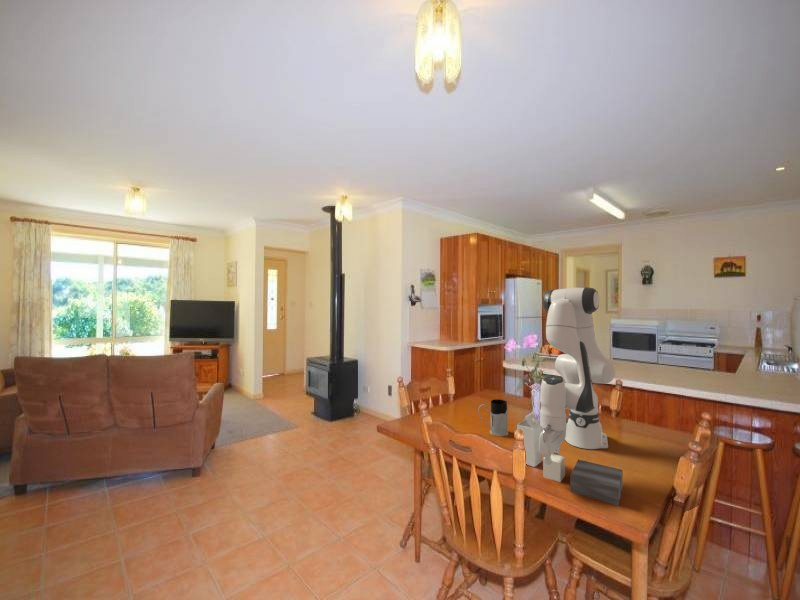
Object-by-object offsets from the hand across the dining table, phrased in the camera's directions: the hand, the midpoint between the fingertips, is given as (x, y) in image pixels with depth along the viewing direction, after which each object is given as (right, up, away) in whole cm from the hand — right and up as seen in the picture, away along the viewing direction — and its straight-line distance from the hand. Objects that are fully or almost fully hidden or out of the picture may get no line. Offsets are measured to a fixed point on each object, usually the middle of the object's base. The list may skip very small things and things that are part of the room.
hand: (552, 459), depth 132 cm
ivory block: (+1, -6, 0) cm, 7 cm away
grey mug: (-11, -6, +42) cm, 44 cm away
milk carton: (-4, -6, +12) cm, 14 cm away
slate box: (+12, -7, -8) cm, 16 cm away
